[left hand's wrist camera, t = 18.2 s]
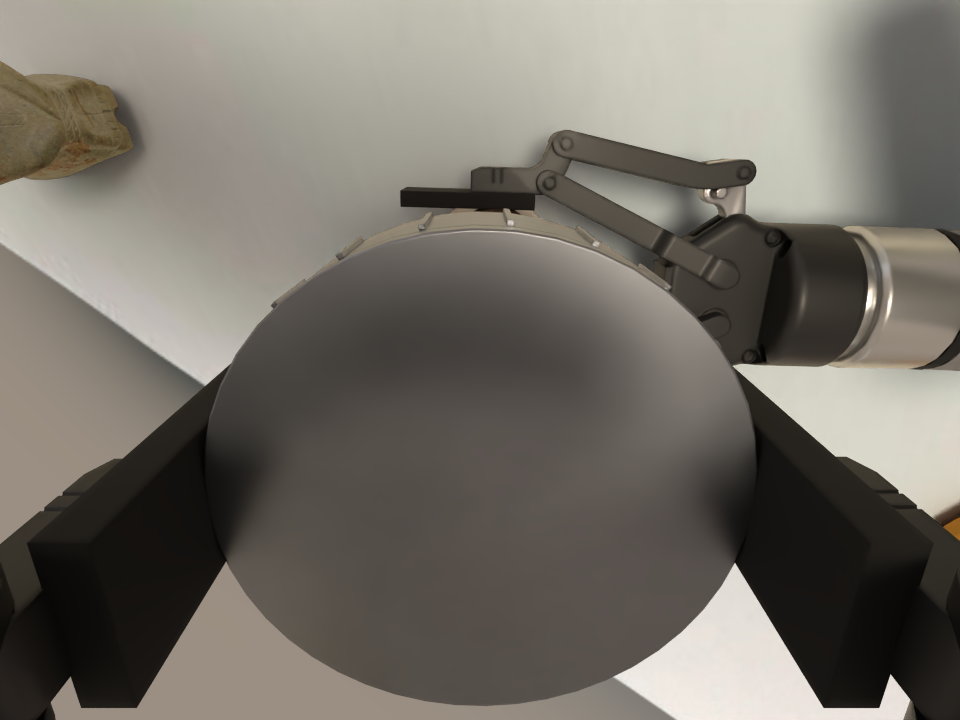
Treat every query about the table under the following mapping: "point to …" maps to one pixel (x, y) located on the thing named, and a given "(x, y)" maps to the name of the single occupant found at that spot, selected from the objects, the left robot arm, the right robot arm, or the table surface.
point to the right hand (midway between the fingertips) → (405, 284)
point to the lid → (480, 461)
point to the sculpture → (55, 125)
